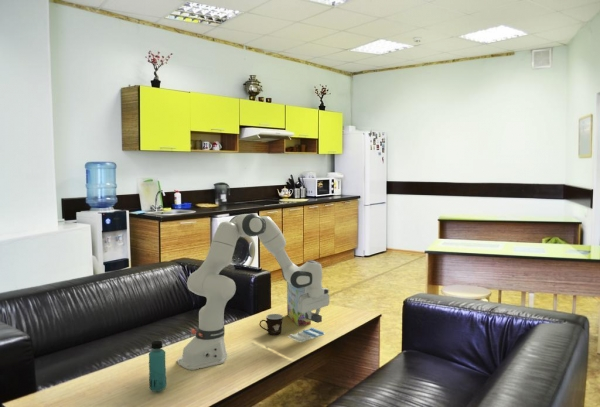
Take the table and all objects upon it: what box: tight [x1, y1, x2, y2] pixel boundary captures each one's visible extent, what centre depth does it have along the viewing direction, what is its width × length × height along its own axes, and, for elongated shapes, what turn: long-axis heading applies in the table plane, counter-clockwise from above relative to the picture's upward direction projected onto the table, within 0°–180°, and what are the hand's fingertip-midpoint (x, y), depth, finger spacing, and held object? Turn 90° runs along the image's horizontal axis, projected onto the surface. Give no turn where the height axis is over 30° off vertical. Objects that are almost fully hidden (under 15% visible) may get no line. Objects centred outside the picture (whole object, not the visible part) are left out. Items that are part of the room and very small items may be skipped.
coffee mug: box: [259, 313, 284, 337], centre depth 244 cm, size 12×9×10 cm
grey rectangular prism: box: [306, 311, 323, 324], centre depth 245 cm, size 3×9×3 cm, turn 43°
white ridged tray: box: [287, 327, 327, 343], centre depth 242 cm, size 18×10×2 cm, turn 132°
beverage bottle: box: [148, 340, 167, 392], centre depth 183 cm, size 6×7×20 cm
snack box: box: [286, 281, 312, 326], centre depth 266 cm, size 22×9×26 cm, turn 17°
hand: (313, 317), depth 245 cm, fingers closed on grey rectangular prism, 3 cm apart
